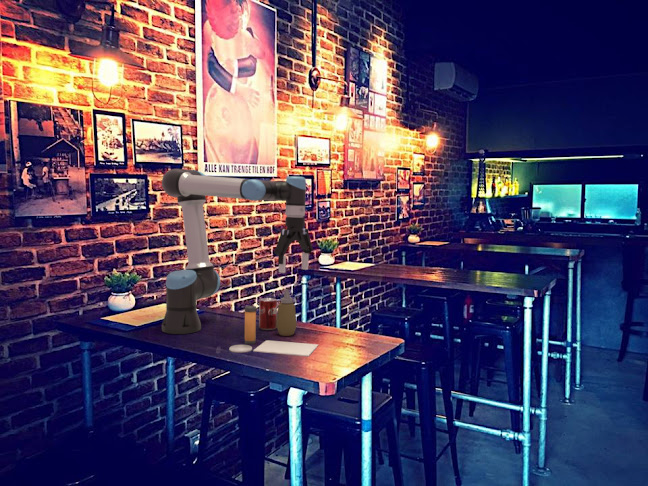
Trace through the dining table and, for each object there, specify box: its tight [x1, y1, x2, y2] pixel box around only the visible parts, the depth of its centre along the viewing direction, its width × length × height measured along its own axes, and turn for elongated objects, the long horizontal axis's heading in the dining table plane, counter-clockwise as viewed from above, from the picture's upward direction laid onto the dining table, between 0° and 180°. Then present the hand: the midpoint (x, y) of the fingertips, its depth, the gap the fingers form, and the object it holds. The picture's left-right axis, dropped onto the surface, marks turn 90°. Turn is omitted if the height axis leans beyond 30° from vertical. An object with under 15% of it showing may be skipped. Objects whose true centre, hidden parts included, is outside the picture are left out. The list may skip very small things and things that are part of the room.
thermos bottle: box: [244, 305, 257, 345], centre depth 197 cm, size 4×4×14 cm
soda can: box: [258, 297, 278, 331], centre depth 220 cm, size 7×7×12 cm
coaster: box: [229, 344, 253, 354], centre depth 189 cm, size 8×8×1 cm
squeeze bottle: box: [276, 288, 298, 337], centre depth 210 cm, size 8×8×18 cm
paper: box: [252, 339, 319, 357], centre depth 191 cm, size 20×14×1 cm
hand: (293, 271), depth 210 cm, fingers open, 13 cm apart
